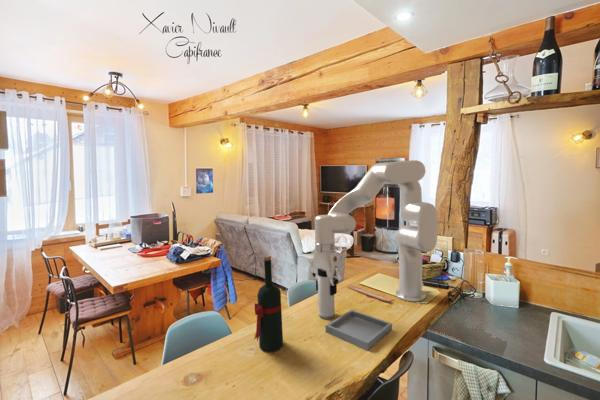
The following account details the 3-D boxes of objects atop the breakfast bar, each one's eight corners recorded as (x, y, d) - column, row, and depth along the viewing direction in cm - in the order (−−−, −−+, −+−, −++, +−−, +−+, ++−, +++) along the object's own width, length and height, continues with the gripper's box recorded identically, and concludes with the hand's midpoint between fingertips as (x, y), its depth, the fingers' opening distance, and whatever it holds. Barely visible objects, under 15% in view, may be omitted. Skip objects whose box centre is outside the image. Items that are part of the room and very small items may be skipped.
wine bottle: (248, 348, 97) (244, 258, 95) (272, 336, 105) (268, 251, 102) (264, 358, 92) (259, 263, 89) (288, 344, 99) (284, 255, 96)
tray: (351, 315, 117) (351, 309, 117) (392, 330, 106) (391, 323, 105) (325, 332, 106) (325, 325, 106) (367, 350, 94) (367, 343, 94)
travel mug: (337, 313, 120) (335, 264, 118) (331, 320, 114) (330, 269, 112) (322, 310, 123) (320, 262, 121) (316, 317, 117) (314, 267, 115)
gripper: (349, 248, 112) (350, 294, 114) (314, 242, 124) (315, 284, 126) (337, 252, 107) (338, 301, 109) (302, 245, 119) (303, 289, 121)
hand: (326, 291), depth 117 cm, fingers open, 6 cm apart
